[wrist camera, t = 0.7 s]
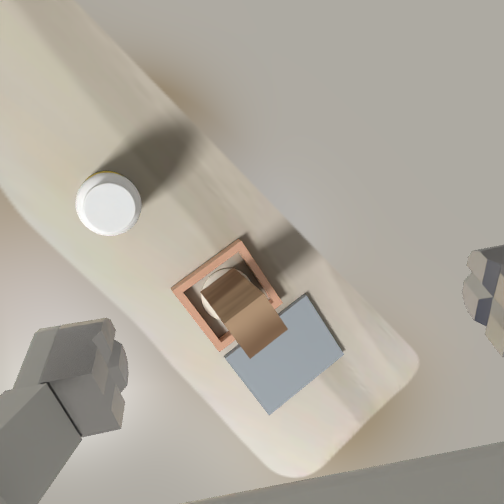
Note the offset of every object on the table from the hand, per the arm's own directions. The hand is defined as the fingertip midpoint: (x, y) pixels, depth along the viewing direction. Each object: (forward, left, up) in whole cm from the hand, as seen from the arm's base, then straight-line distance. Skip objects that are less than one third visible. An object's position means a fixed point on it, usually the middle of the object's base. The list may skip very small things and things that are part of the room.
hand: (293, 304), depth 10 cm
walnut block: (+15, +1, -37) cm, 40 cm away
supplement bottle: (-1, -3, -38) cm, 38 cm away
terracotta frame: (+15, +1, -38) cm, 41 cm away
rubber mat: (+26, +2, -38) cm, 46 cm away
